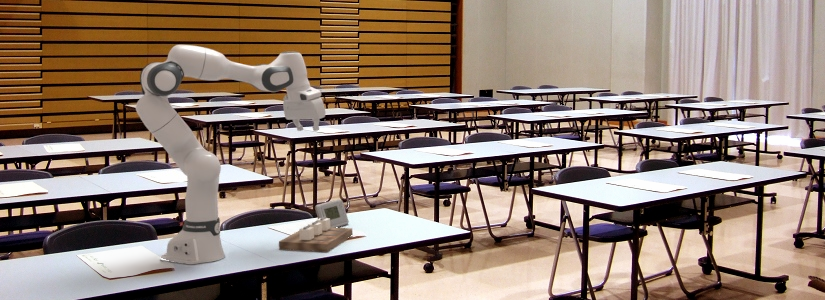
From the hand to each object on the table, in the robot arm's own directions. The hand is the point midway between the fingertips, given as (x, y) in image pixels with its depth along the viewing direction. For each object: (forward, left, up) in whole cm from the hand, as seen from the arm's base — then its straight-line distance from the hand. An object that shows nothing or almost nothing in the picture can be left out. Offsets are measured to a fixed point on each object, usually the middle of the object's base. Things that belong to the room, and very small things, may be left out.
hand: (308, 130), depth 312 cm
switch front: (0, -5, -40) cm, 40 cm away
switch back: (0, +11, -40) cm, 41 cm away
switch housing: (+1, +3, -43) cm, 43 cm away
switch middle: (0, +3, -40) cm, 40 cm away
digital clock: (-3, +28, -43) cm, 52 cm away
